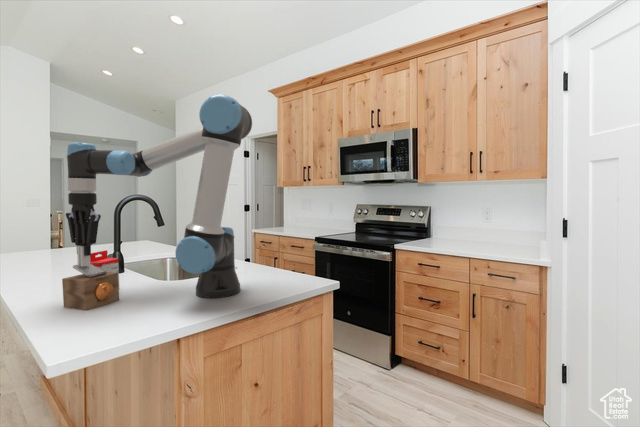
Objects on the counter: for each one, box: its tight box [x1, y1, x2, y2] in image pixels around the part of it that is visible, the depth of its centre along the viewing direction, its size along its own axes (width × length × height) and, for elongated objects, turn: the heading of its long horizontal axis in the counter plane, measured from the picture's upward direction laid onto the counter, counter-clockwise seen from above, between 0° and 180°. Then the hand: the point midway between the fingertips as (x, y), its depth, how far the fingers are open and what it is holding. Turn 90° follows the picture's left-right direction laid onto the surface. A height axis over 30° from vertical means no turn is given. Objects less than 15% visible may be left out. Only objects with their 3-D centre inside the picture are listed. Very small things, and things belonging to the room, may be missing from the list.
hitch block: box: [61, 272, 120, 311], centre depth 116 cm, size 10×11×9 cm
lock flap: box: [72, 264, 107, 278], centre depth 116 cm, size 8×6×1 cm, turn 70°
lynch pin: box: [94, 282, 113, 300], centre depth 116 cm, size 11×6×6 cm, turn 69°
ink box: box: [90, 250, 120, 286], centre depth 129 cm, size 8×5×15 cm, turn 168°
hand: (84, 265), depth 117 cm, fingers closed
